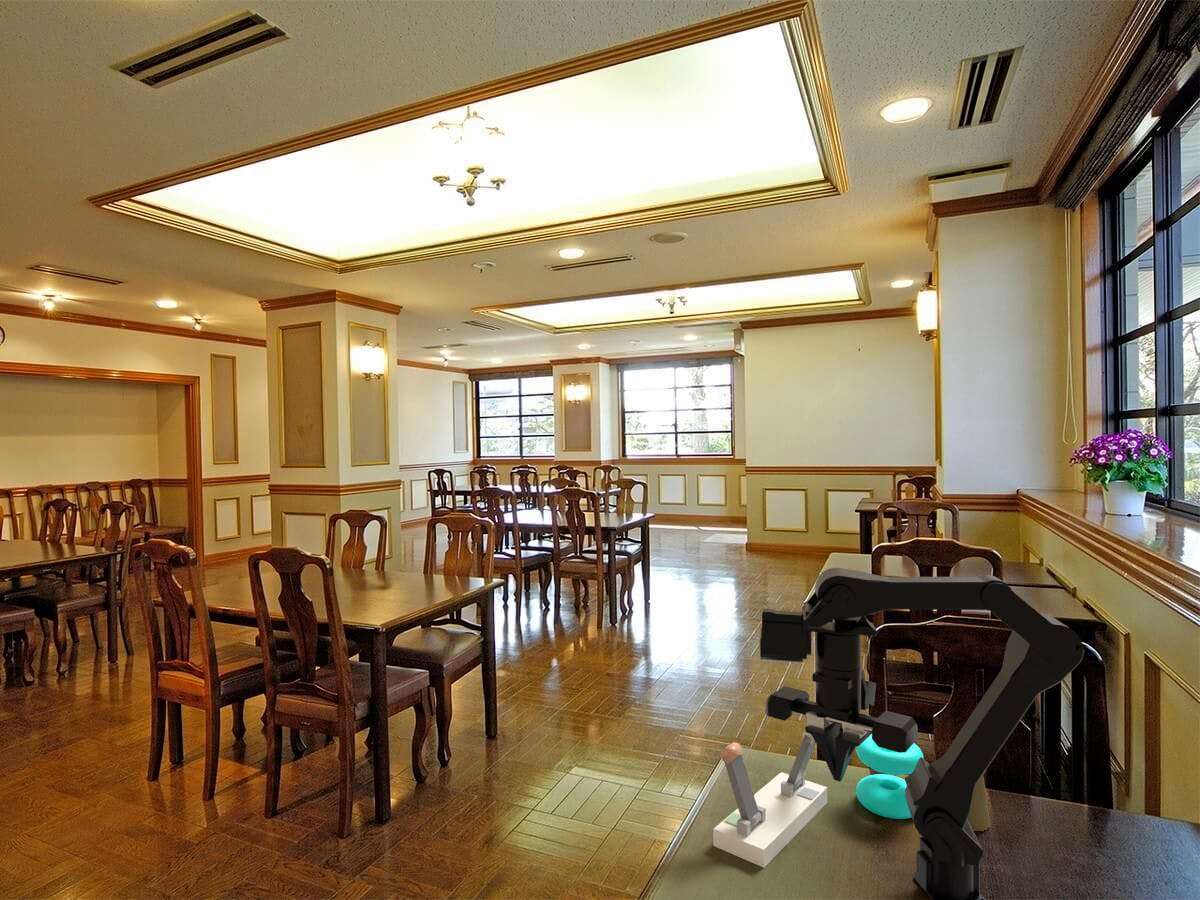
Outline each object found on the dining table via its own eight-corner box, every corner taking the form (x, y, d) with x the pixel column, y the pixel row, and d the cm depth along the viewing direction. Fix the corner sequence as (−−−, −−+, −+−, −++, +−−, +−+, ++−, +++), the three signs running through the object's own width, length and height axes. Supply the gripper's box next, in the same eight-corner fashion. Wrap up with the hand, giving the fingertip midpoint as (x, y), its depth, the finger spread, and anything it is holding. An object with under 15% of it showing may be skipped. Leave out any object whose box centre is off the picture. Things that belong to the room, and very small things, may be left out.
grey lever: (801, 787, 112) (824, 728, 109) (793, 794, 109) (816, 734, 107) (790, 779, 113) (812, 721, 110) (782, 786, 110) (804, 727, 108)
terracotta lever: (764, 821, 100) (739, 741, 103) (754, 830, 98) (729, 748, 101) (752, 821, 102) (728, 742, 104) (742, 830, 99) (718, 749, 102)
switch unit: (827, 802, 111) (827, 776, 111) (763, 867, 95) (763, 836, 94) (781, 786, 116) (781, 761, 116) (713, 845, 100) (713, 816, 100)
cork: (996, 833, 102) (996, 760, 102) (952, 829, 104) (952, 756, 103) (982, 812, 108) (982, 742, 108) (941, 808, 109) (941, 739, 109)
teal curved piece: (918, 734, 114) (928, 761, 104) (918, 794, 114) (928, 827, 104) (854, 727, 116) (857, 753, 107) (854, 785, 117) (857, 817, 107)
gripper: (929, 663, 92) (929, 778, 93) (798, 638, 105) (798, 740, 105) (904, 686, 84) (904, 813, 84) (763, 656, 96) (764, 767, 96)
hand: (838, 779), depth 93 cm, fingers closed
